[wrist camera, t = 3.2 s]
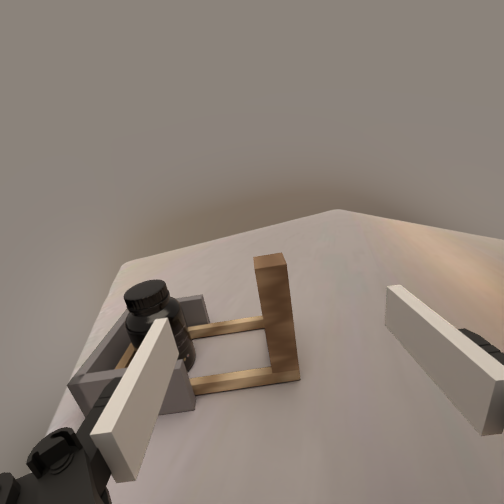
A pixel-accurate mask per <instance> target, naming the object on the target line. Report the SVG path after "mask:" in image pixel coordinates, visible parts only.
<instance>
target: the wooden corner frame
mask: <svg viewBox="0 0 504 504" xmlns="http://www.w3.org/2000/svg"><path fill="white" fill-rule="evenodd" d="M253 258H254V268H255V274H256V280H257V286H258V292H259V298H260V303H261V309H262V315H263V316H256V317H250V318H243V319H237V320H230V321H224V322H217V323H211V324H204V325H198V326H191V327H188V329H189V333H190V336H191V339H193V338H200V337H206V336H213V335H219V334H226V333H232V332H239V331H246V330H252V329H259V328H265V333H266V339H267V344H268V350H269V356H270V362H271V367H265V368H258V369H251V370H245V371H238V372H231V373H224V374H218V375H211V376H204V377H197V378H191V379H189V380H190V383H191V386H192V389H193V392H194V395H198V394H205V393H212V392H219V391H226V390H233V389H239V388H246V387H253V386H260V385H267V384H274V383H280V382H287V381H294V380H300V373H299V364H298V356H297V348H296V339H295V331H294V322H293V314H292V306H291V297H290V289H289V280H288V272H287V264H286V261H285V259H284V257H283V254H282V253H276V254H270V255H264V256H258V257H253ZM135 354H136V352H135V350H134V347H133V345H132V343H130V345H129V347H128V348H127V350H126V351H125V353H124V355H123V356H122V358H121V360H120V361H119V363H118V364H117V366H116V368H115V369H121V368H128V366H129V365H130V363H131V361H132V359H133V358H134V356H135Z"/></svg>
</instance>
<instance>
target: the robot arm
mask: <svg viewBox="0 0 504 504" xmlns="http://www.w3.org/2000/svg"><path fill="white" fill-rule="evenodd" d="M385 326H386V327H387V328H388V329H389V330H390V332H391V333H392V334H393V335H394V336H395V337H396V339H397V340H398V341H399V342H400V343H401V344H402V345H403V347H404V348H405V349H406V350H407V351H408V352H409V353H410V355H411V356H412V357H413V358H414V359H415V360H416V362H417V363H418V364H419V365H420V366H421V367H422V368H423V370H424V371H425V372H426V373H427V374H428V375H429V377H430V378H431V379H432V380H433V381H434V382H435V383H436V385H437V386H438V387H439V388H440V389H441V390H442V392H443V393H444V394H445V395H446V396H447V397H448V398H449V400H450V401H451V402H452V403H453V404H454V405H455V407H456V408H457V409H458V410H459V411H460V412H461V413H462V415H463V416H464V417H465V418H466V419H467V420H468V421H469V423H470V424H471V425H472V426H473V427H474V428H475V430H476V431H477V432H478V433H479V434H480V435H481V436H486V435H494V434H502V432H503V429H504V353H501V352H500V350H499V349H497V348H496V347H494V346H493V345H491V344H490V343H489V342H488V341H486V340H485V339H484V338H482V337H481V336H479V335H478V334H475V333H473V332H471V331H469V330H467V329H465V328H464V329H456V328H455V327H454V326H452V325H451V324H450V323H449V322H447V321H446V320H445V319H443V318H442V317H441V316H440V315H438V314H437V313H436V312H434V311H433V310H432V309H431V308H429V307H428V306H427V305H425V304H424V303H423V302H422V301H420V300H419V299H418V298H417V297H415V296H414V295H413V294H411V293H410V292H409V291H408V290H406V289H405V288H404V287H402V286H401V285H393V286H387V292H386V312H385ZM178 355H179V352H178V349H177V346H176V342H175V339H174V336H173V333H172V330H171V326H170V323H169V320H168V318H161V319H155V321H154V322H153V324H152V326H151V328H150V329H149V331H148V333H147V335H146V336H145V338H144V340H143V342H142V344H141V345H140V347H139V349H138V351H137V352H136V354H135V356H134V358H133V359H132V361H131V363H130V365H129V366H128V368H127V370H126V372H125V373H124V375H123V376H122V377H115V378H114V379H113V380H112V381H111V382H110V383H108V384H107V385H106V386H105V388H104V389H103V391H102V392H101V394H100V396H99V397H98V400H96V402H95V404H94V405H93V408H92V409H91V410H90V412H89V413H88V415H87V417H86V418H85V420H84V421H83V423H82V425H81V426H80V428H79V429H78V431H77V433H76V434H75V432H74V431H73V429H72V428H68V427H65V428H61V429H58V430H56V431H54V432H52V433H50V434H49V435H47V436H46V437H45V438H43V439H42V440H41V441H40V442H39V443H38V444H37V445H36V446H35V447H34V448H33V450H32V451H31V453H30V455H29V456H28V459H27V463H26V464H27V466H28V467H29V468H30V470H31V471H32V473H30V474H28V475H25V476H23V477H21V478H19V479H15V478H14V477H13V476H12V474H11V473H1V474H0V504H112V502H111V498H110V495H109V491H108V489H107V487H106V485H107V483H108V480H109V478H110V476H111V474H112V476H113V478H114V480H115V482H116V483H121V482H129V481H136V479H137V476H138V473H139V470H140V467H141V464H142V461H143V458H144V455H145V452H146V449H147V446H148V443H149V441H150V438H151V435H152V432H153V429H154V426H155V423H156V420H157V417H158V414H159V411H160V408H161V405H162V402H163V399H164V396H165V394H166V391H167V388H168V385H169V382H170V379H171V376H172V373H173V370H174V367H175V364H176V361H177V358H178Z"/></svg>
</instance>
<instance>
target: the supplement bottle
mask: <svg viewBox="0 0 504 504" xmlns="http://www.w3.org/2000/svg"><path fill="white" fill-rule="evenodd" d="M124 300H125V303H126V305H127V309H128V311H129V313H128V315H127V317H126V320H125V328H126V331H127V333H128V336H129V338H130V340H131V343H132V345H133V347H134V350H135V352H137V351H138V349H139V347H140V345H141V344H142V342H143V340H144V338H145V336H146V335H147V333H148V331H149V329H150V328H151V326H152V324H153V322H154V321H155V319H161V318H168V320H169V323H170V326H171V330H172V333H173V336H174V339H175V342H176V346H177V349H178V352H179V355H178V358H177V360H181V359H183V362H184V365H185V368H186V371H188V370H189V369H190V368H191V366H192V365H193V363H194V360H195V349H194V346H193V342H192V339H191V336H190V333H189V329H188V326H187V323H186V319H185V316H184V313H183V310H182V307H181V304H180V302H179V301H178V300H176V299H175V298H173V297H170V293H169V291H168V290H167V286H166V283H165V282H164V281H162V280H149V281H145V282H142V283H139V284H137V285H135V286H133V287H131V288H130V289H129V290H127V292H125V294H124Z"/></svg>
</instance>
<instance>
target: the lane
mask: <svg viewBox="0 0 504 504" xmlns="http://www.w3.org/2000/svg"><path fill="white" fill-rule="evenodd" d="M176 300H178V301H179V302H180V304H181V307H182V310H183V313H184V316H185V319H186V323H187V326H188V327H191V326H198V325H204V324H210V321H209V317H208V313H207V309H206V306H205V302H204V298H203V294H202V295H196V296H190V297H183V298H177V299H176ZM128 313H129V311H128V309H126V311H125V312H124V313H123V314H122V316H121V317H120V318H119V319H118V321H117V322H116V323H115V325H114V326H113V327H112V328H111V330H110V331H109V332H108V333H107V335H106V336H105V337H104V339H103V340H102V341H101V342H100V344H99V345H98V346H97V347H96V349H95V350H94V351H93V353H92V354H91V355H90V356H89V358H88V359H87V360H86V361H85V363H84V364H83V365H82V366H81V368H80V369H79V370H78V372H77V373H76V374H75V375H74V377H73V378H72V379H71V380H70V382H69V383H68V384H67V386H68V388H69V390H70V392H71V393H72V395H73V397H74V399H75V400H76V402H77V404H78V405H79V407H80V409H81V411H82V412H83V414H84V416H85V418H86V417H87V415H88V413H89V412H90V410H91V409H92V408H93V405H94V404H95V402H96V400H98V397H99V396H100V394H101V392H102V391H103V389H104V388H105V386H106V385H107V384H108V383H110V382H111V381H112V380H113V379H114V378H115V377H122V376H123V375H124V373H125V372H126V370H127V368H121V369H115V368H116V366H117V364H118V363H119V361H120V360H121V358H122V356H123V355H124V353H125V351H126V350H127V348H128V347H129V345H130V343H131V340H130V338H129V336H128V333H127V331H126V328H125V320H126V317H127V315H128ZM195 404H196V398H195V395H194V392H193V389H192V386H191V383H190V380H189V377H188V374H187V371H186V368H185V365H184V362H183V359H181V360H177V361H176V364H175V367H174V370H173V373H172V376H171V379H170V382H169V385H168V388H167V391H166V394H165V396H164V399H163V402H162V405H161V408H160V411H159V414H158V415H164V414H170V413H177V412H184V411H191V410H194V409H195Z"/></svg>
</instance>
